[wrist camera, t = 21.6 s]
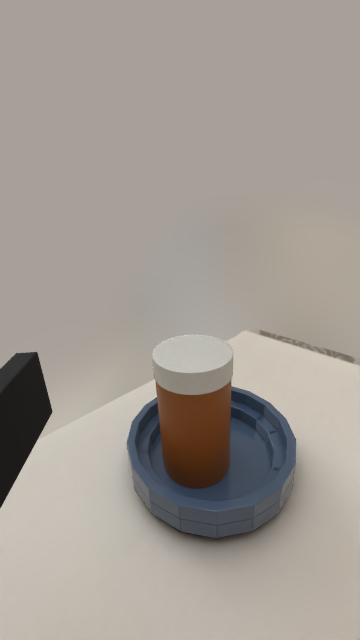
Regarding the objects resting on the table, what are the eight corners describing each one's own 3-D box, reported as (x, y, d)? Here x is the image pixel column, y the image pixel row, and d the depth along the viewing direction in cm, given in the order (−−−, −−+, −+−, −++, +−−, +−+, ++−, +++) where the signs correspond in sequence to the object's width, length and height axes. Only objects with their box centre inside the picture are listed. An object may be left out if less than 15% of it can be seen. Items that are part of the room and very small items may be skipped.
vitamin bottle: (150, 477, 24) (136, 364, 20) (177, 427, 29) (171, 331, 25) (221, 500, 22) (222, 379, 18) (237, 442, 27) (240, 339, 23)
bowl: (98, 506, 23) (91, 474, 22) (170, 398, 35) (168, 374, 34) (288, 581, 18) (294, 546, 16) (293, 424, 30) (296, 397, 29)
